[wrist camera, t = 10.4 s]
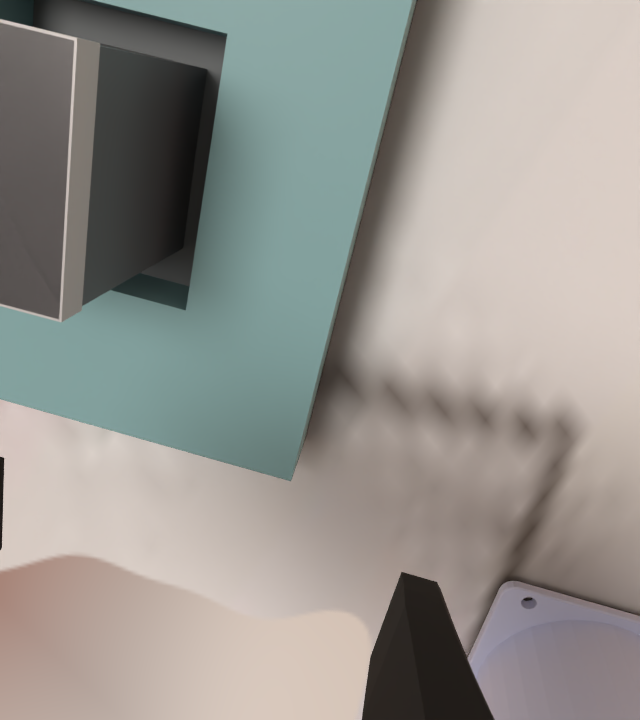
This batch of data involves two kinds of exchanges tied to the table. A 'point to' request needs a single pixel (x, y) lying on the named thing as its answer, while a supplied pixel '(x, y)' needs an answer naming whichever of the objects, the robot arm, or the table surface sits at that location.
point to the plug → (89, 166)
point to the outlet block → (228, 228)
